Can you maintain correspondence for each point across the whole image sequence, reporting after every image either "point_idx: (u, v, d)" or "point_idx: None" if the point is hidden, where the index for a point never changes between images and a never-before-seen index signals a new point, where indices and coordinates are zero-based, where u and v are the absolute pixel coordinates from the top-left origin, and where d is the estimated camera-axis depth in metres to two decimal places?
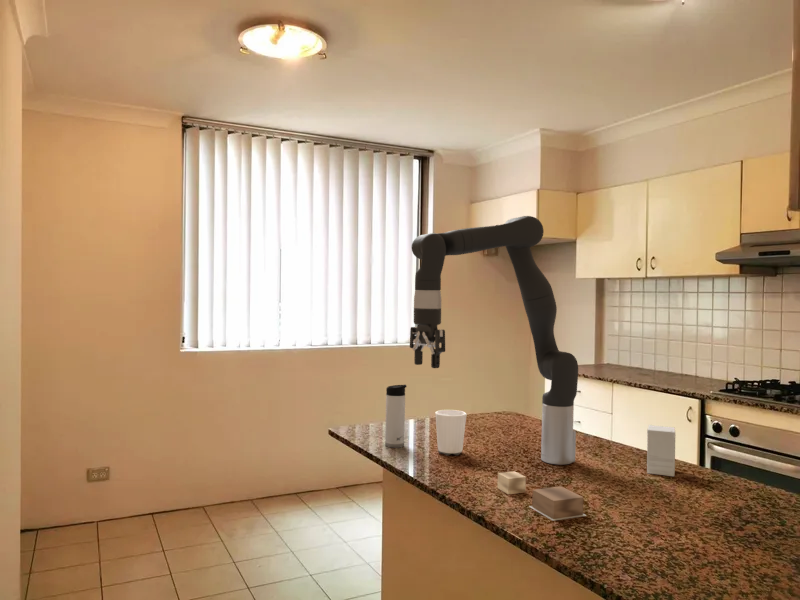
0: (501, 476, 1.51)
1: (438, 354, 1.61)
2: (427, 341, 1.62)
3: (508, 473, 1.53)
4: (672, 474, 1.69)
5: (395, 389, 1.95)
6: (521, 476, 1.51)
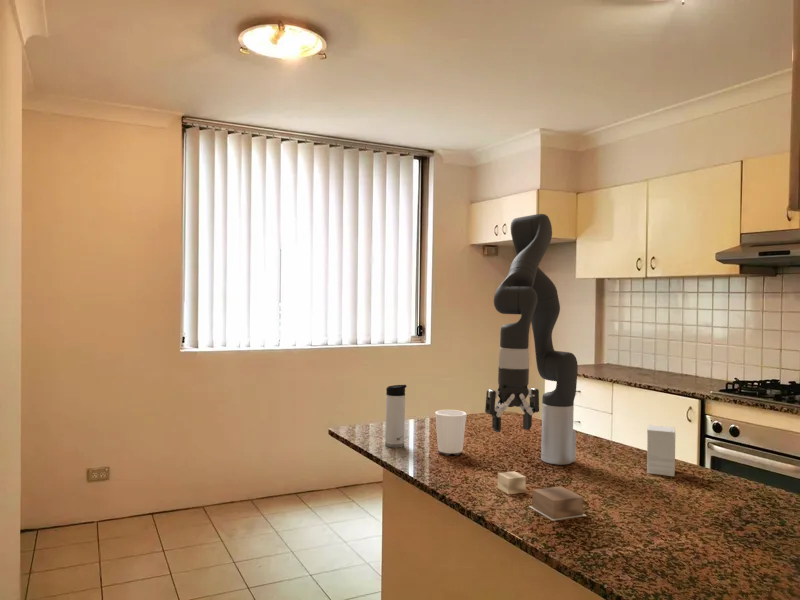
0: (501, 476, 1.51)
1: None
2: (526, 402, 1.51)
3: (508, 473, 1.53)
4: (672, 474, 1.69)
5: (395, 389, 1.95)
6: (521, 476, 1.51)
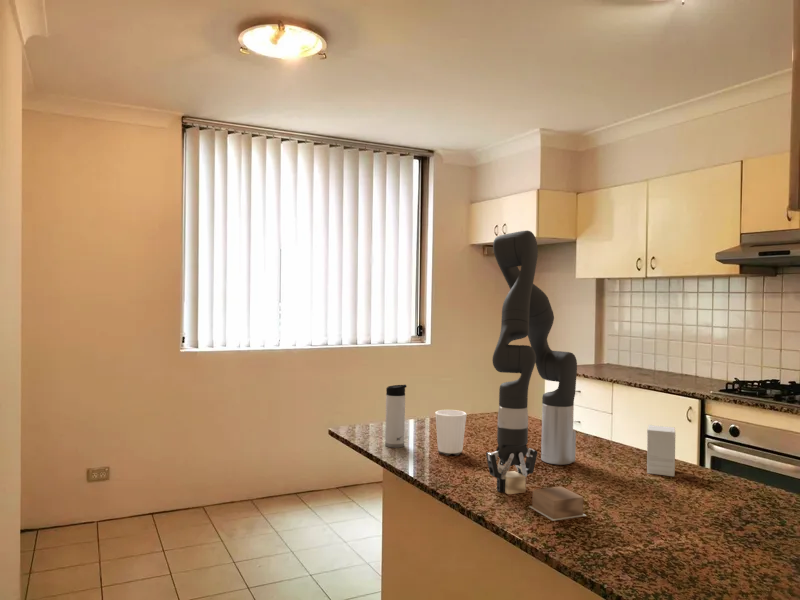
0: None
1: None
2: (523, 463, 1.51)
3: (508, 473, 1.53)
4: (672, 474, 1.69)
5: (395, 389, 1.95)
6: (521, 476, 1.51)
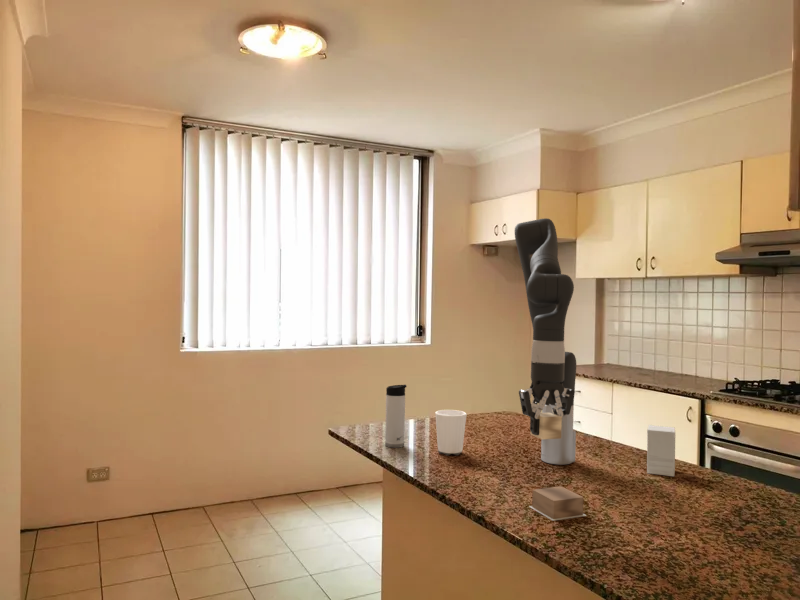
0: None
1: None
2: (559, 402, 1.39)
3: (543, 414, 1.41)
4: (672, 474, 1.69)
5: (395, 389, 1.95)
6: (557, 416, 1.38)
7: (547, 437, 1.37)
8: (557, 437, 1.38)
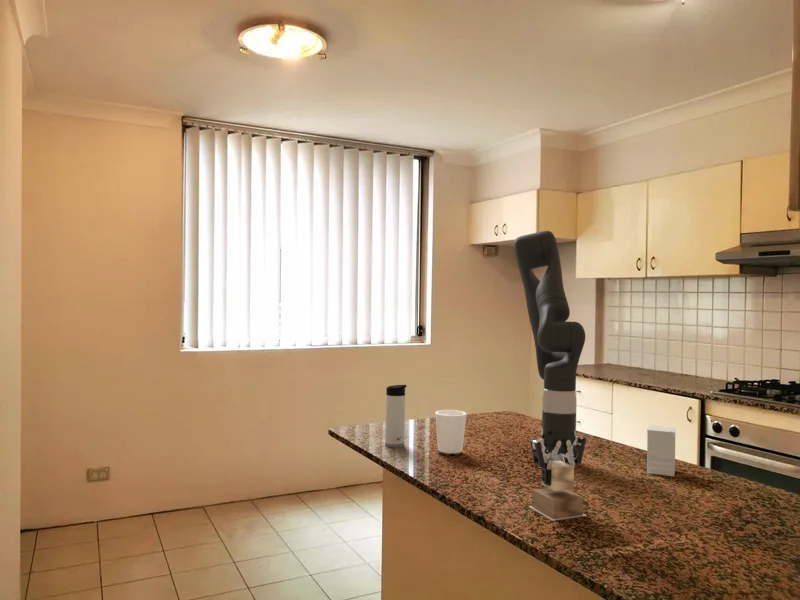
0: None
1: None
2: (571, 451, 1.37)
3: (554, 463, 1.38)
4: (672, 474, 1.69)
5: (395, 389, 1.95)
6: (569, 466, 1.36)
7: (559, 488, 1.35)
8: (569, 487, 1.36)
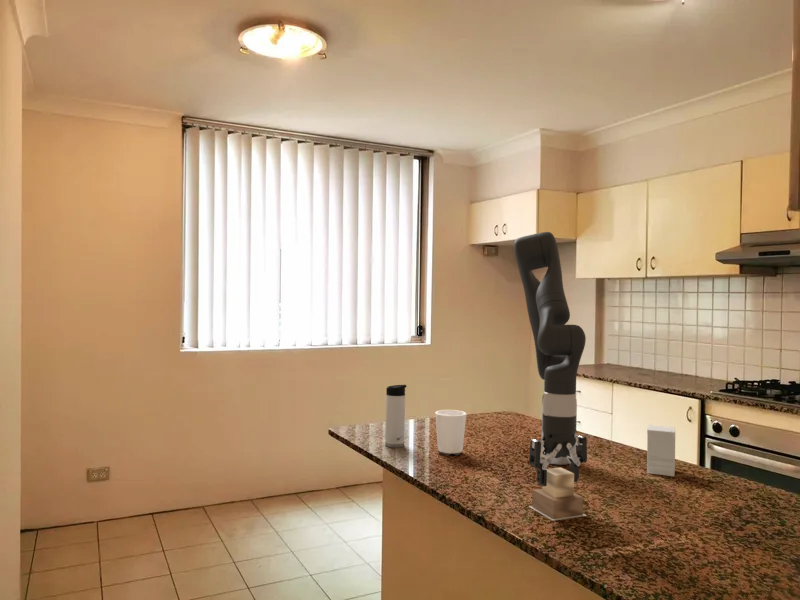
0: (547, 473, 1.37)
1: None
2: (573, 452, 1.37)
3: (554, 470, 1.39)
4: (672, 474, 1.69)
5: (395, 389, 1.95)
6: (569, 473, 1.36)
7: (560, 495, 1.35)
8: (570, 494, 1.36)
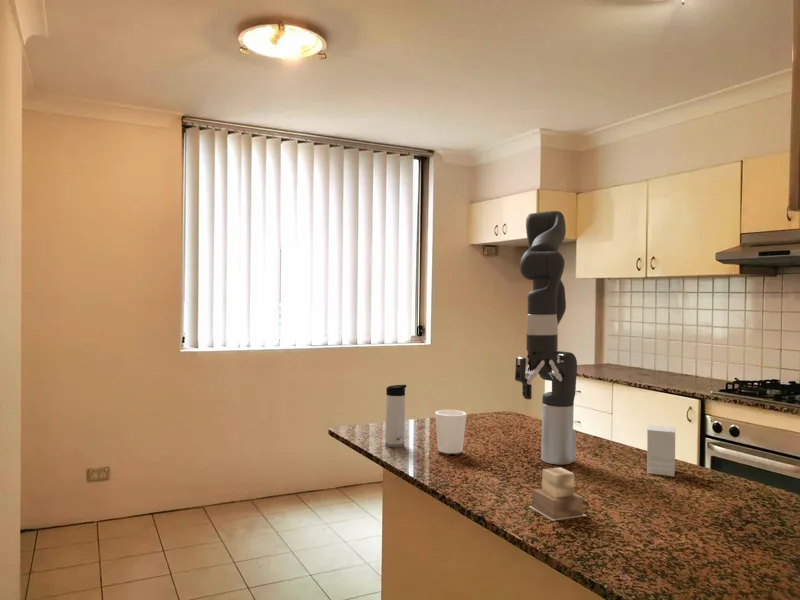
0: (547, 473, 1.37)
1: None
2: (555, 368, 1.50)
3: (554, 470, 1.39)
4: (672, 474, 1.69)
5: (395, 389, 1.95)
6: (569, 473, 1.36)
7: (560, 495, 1.35)
8: (570, 494, 1.36)
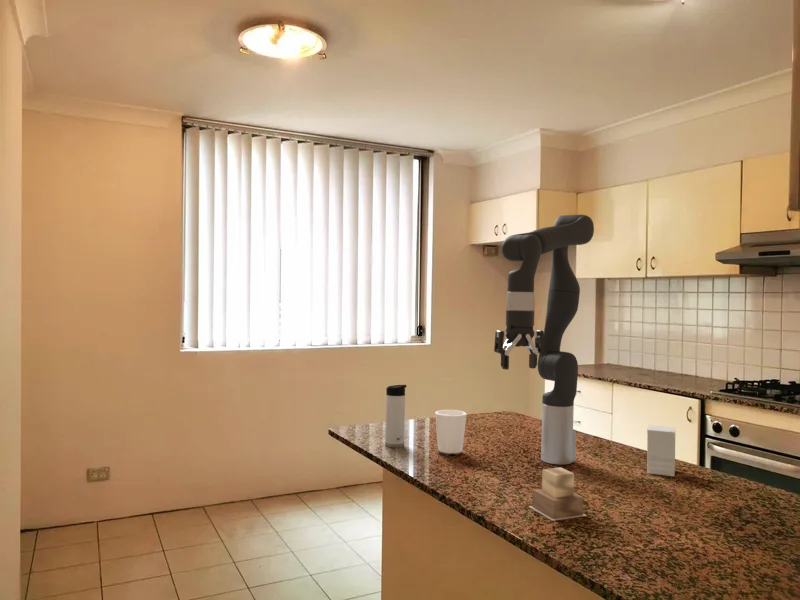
0: (547, 473, 1.37)
1: None
2: (532, 342, 1.63)
3: (554, 470, 1.39)
4: (672, 474, 1.69)
5: (395, 389, 1.95)
6: (569, 473, 1.36)
7: (560, 495, 1.35)
8: (570, 494, 1.36)
